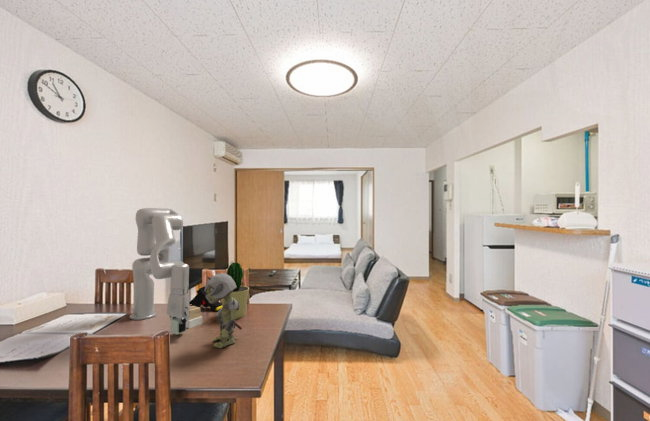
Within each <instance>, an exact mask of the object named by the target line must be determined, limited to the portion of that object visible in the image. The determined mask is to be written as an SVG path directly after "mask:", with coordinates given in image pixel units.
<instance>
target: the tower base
mask: <svg viewBox="0 0 650 421" xmlns="http://www.w3.org/2000/svg"><path fill="white" fill-rule="evenodd" d="M203 318H204V317H203V316H202V315H200V317H198V318H195V319H191V320H187V322H186V329H192V328H195V327H198V326H200V325H203Z"/></svg>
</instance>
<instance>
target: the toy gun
mask: <svg viewBox="0 0 650 421" xmlns="http://www.w3.org/2000/svg"><path fill="white" fill-rule="evenodd" d="M205 287H206V285H205V286H203V287H199V288H198V290H196V295H195V296H194V297H193V298H192V299H191V300H189V304H192V305H189V307H191V306H196V307H200V308H201V307H202V306H203V307H204V308H210V310H212V311H213V312H216V311H219V310H221V309H222V302H220V301H218V302H216V303H214V304H210V303H209V301H208V299H207V298H206V297H207V296H206V295H207V293H206V291H207V289H208V288H207V289H206V291H205ZM205 296H206V297H205Z"/></svg>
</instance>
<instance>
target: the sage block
mask: <svg viewBox="0 0 650 421" xmlns="http://www.w3.org/2000/svg"><path fill="white" fill-rule="evenodd" d="M170 319H171V318H170ZM183 319H184V317H183V318H182V320H183ZM179 324H180V320H179V318H177V317H176V318H173V319H171V321H170V331H169V332H170V333H171V334H173V335H179V334H181V333H185V332H186V331H187V329H186V330H185V331H183V332H181V333H179Z"/></svg>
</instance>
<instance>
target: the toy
mask: <svg viewBox="0 0 650 421" xmlns="http://www.w3.org/2000/svg"><path fill="white" fill-rule="evenodd" d="M206 278H207V279H208V280H207V282H206V284H205V286H206V287H205V286H204V287H205V291H206V289H207V291H206V293H207V295H206V296H207V297H206V296H205V297H206V298H207V299H208V301H209V303H210V304H214V303H216V302H218V301H219V302H220V301H222V300H221V299H222V298H224V300H225V303H224V305H223V307H222V309H219V310H218V312H217V313H215V316H216V317H218V319H217V321H218V323H219V324H218V329H219V336H217V337H214V338H213V339H212V342H215V343H214V344H213V345H212V347H215V348H217V349H222V348H225V347H227V346H228V345H234V344H235V342H236V340H235V336H234V332H235V329H236V328H237V329H239V330H240V331H241V330H242V329H243V327H242V326H240V325H239V324H238V323H237V322H236V319H235V316H236V311H237V310H238V309H239V303H238V301H237V300H236V299H235V298H233V297H231V296H230V294H231V293H232V292H233V290H234V289H235V288H236V287H237V286H236V283H235V282H234V280H233V279H232V277H231V276H229V275H227V273H217V274H215V275H213V276H212V277H209V276H208V275H207V277H206ZM218 341H219V342H218Z"/></svg>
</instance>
